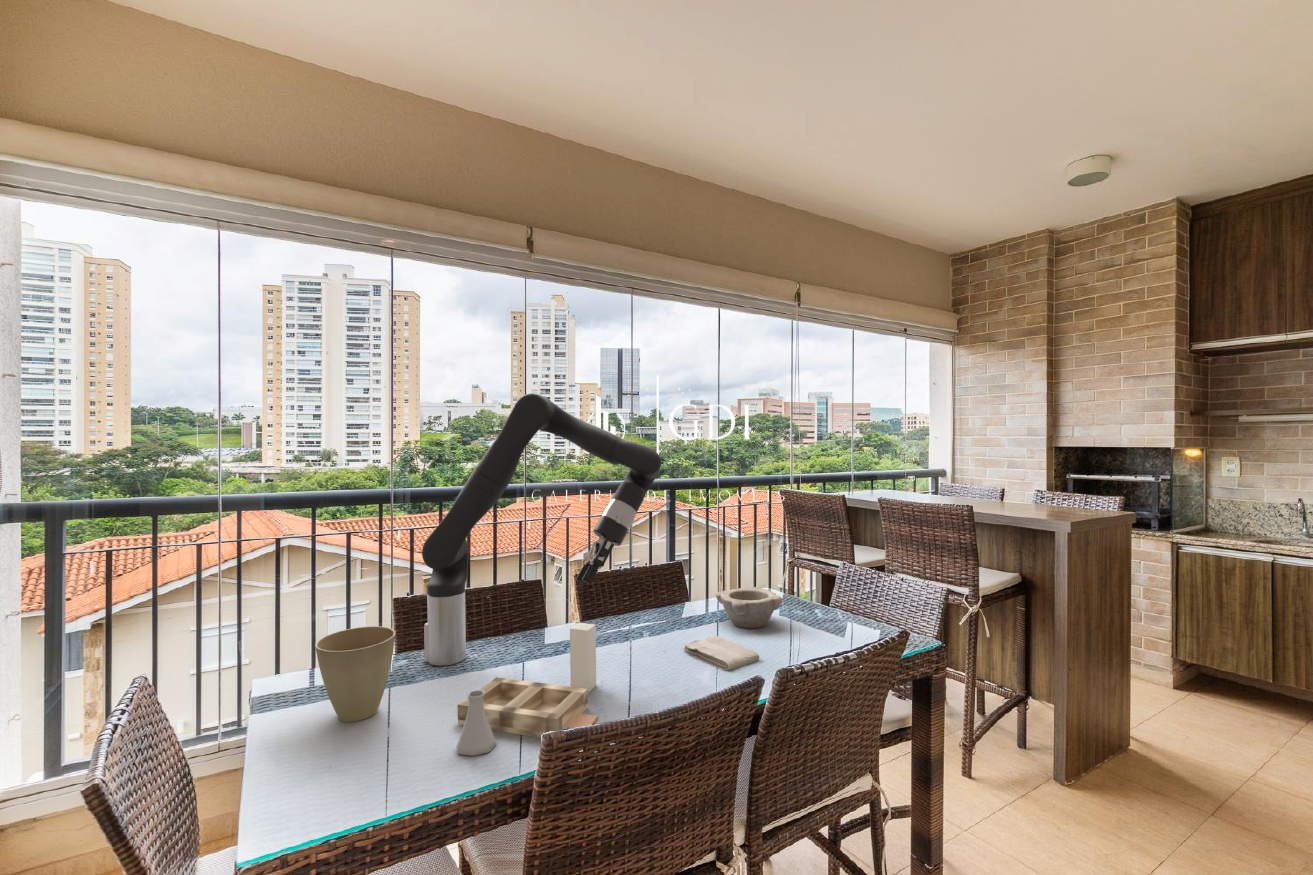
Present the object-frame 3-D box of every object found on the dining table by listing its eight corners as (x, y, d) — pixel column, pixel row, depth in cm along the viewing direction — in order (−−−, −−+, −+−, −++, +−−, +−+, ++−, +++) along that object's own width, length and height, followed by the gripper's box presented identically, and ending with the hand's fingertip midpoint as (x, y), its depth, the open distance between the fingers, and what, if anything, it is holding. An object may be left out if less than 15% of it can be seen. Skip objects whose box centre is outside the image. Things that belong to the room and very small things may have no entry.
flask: (461, 737, 115) (460, 685, 115) (499, 735, 116) (499, 684, 115) (451, 758, 108) (450, 702, 108) (492, 756, 108) (492, 700, 108)
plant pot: (341, 697, 133) (341, 625, 133) (408, 698, 132) (407, 626, 132) (299, 731, 118) (298, 650, 118) (374, 732, 117) (373, 650, 117)
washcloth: (713, 643, 167) (712, 631, 167) (761, 661, 153) (761, 649, 153) (680, 653, 159) (680, 641, 159) (728, 673, 145) (728, 661, 145)
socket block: (457, 724, 120) (457, 704, 120) (496, 695, 134) (496, 677, 133) (576, 743, 112) (576, 721, 112) (605, 710, 126) (605, 691, 126)
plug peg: (570, 690, 136) (569, 628, 135) (578, 682, 140) (578, 622, 140) (588, 692, 134) (587, 630, 134) (596, 684, 138) (595, 624, 138)
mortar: (712, 618, 188) (712, 589, 187) (762, 613, 192) (761, 584, 192) (734, 635, 171) (733, 603, 171) (787, 629, 176) (787, 598, 176)
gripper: (596, 517, 153) (564, 574, 147) (608, 511, 140) (573, 574, 134) (621, 531, 154) (590, 589, 148) (636, 527, 141) (602, 590, 135)
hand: (582, 582), depth 141 cm, fingers open, 8 cm apart
